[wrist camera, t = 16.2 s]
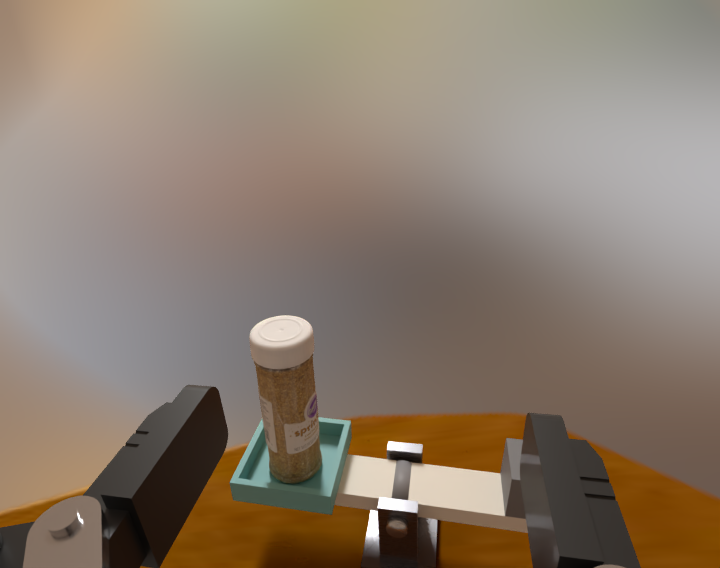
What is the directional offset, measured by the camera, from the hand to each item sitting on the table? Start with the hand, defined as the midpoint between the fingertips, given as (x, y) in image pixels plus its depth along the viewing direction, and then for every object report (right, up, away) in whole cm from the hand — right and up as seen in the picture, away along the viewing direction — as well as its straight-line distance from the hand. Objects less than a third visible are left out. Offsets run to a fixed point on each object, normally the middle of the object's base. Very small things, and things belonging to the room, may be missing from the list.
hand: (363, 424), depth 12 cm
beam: (+3, -14, +27) cm, 31 cm away
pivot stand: (+4, -19, +29) cm, 35 cm away
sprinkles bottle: (-6, -12, +28) cm, 31 cm away
